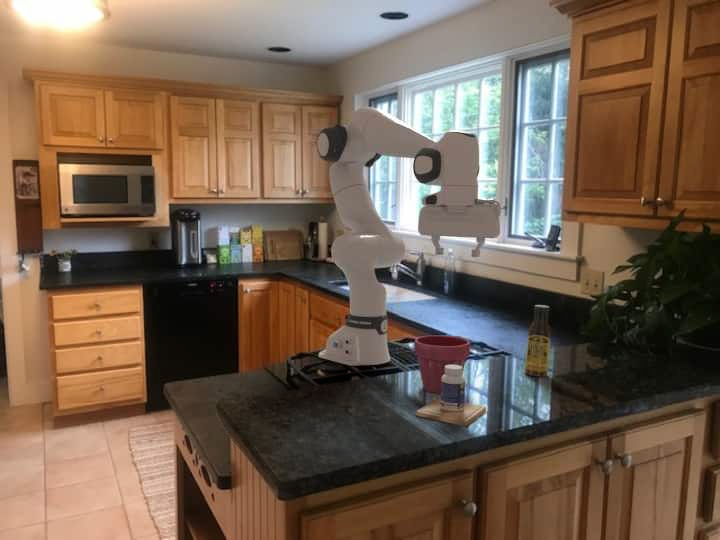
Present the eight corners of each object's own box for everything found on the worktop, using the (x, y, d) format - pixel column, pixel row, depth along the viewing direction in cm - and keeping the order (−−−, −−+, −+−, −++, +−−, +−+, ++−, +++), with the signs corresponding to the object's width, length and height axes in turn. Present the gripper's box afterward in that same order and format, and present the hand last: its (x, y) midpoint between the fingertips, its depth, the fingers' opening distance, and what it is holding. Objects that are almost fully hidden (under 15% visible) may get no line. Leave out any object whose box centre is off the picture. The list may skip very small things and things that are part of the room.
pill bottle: (463, 413, 134) (465, 370, 133) (439, 411, 135) (441, 368, 134) (464, 405, 139) (466, 364, 138) (441, 403, 140) (442, 362, 139)
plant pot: (436, 377, 166) (437, 332, 165) (479, 389, 156) (481, 340, 155) (402, 387, 156) (403, 339, 155) (445, 400, 146) (447, 349, 145)
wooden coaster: (416, 415, 136) (416, 410, 135) (438, 401, 146) (438, 396, 146) (466, 426, 129) (466, 421, 129) (485, 411, 139) (486, 406, 139)
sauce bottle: (523, 376, 169) (526, 306, 167) (526, 370, 175) (529, 303, 173) (547, 379, 167) (551, 308, 165) (549, 373, 173) (553, 305, 170)
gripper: (505, 199, 142) (502, 257, 144) (427, 198, 153) (425, 252, 154) (496, 198, 137) (493, 259, 138) (415, 198, 148) (414, 254, 149)
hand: (457, 255), depth 147 cm, fingers open, 8 cm apart
